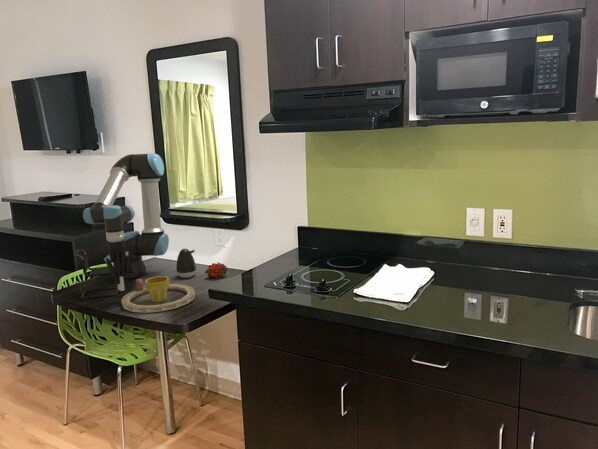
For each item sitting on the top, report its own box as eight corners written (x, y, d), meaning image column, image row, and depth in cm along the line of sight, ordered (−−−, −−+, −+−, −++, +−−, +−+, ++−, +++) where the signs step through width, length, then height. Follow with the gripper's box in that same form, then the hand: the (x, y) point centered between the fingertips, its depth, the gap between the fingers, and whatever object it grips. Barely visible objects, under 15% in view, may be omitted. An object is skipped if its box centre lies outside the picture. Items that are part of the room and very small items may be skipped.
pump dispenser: (194, 279, 253) (192, 250, 250) (174, 279, 254) (172, 251, 251) (199, 273, 263) (196, 246, 260) (179, 274, 264) (177, 246, 261)
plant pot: (146, 298, 228) (143, 278, 226) (168, 294, 232) (166, 274, 230) (148, 305, 218) (146, 284, 216) (172, 301, 222) (170, 280, 220)
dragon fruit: (229, 278, 257) (207, 285, 253) (225, 266, 262) (203, 272, 259) (228, 269, 250) (205, 275, 247) (224, 256, 256) (201, 263, 252)
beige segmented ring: (108, 303, 222) (106, 288, 221) (165, 283, 247) (164, 270, 245) (151, 317, 203) (149, 301, 201) (209, 295, 227) (207, 280, 226)
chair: (82, 291, 241) (76, 248, 236) (119, 287, 246) (114, 244, 241) (79, 300, 229) (73, 255, 224) (118, 295, 234) (113, 250, 229)
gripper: (107, 244, 213) (113, 295, 218) (133, 238, 223) (138, 287, 228) (97, 242, 218) (104, 292, 222) (123, 236, 228) (129, 284, 232)
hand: (121, 289), depth 225 cm, fingers closed
